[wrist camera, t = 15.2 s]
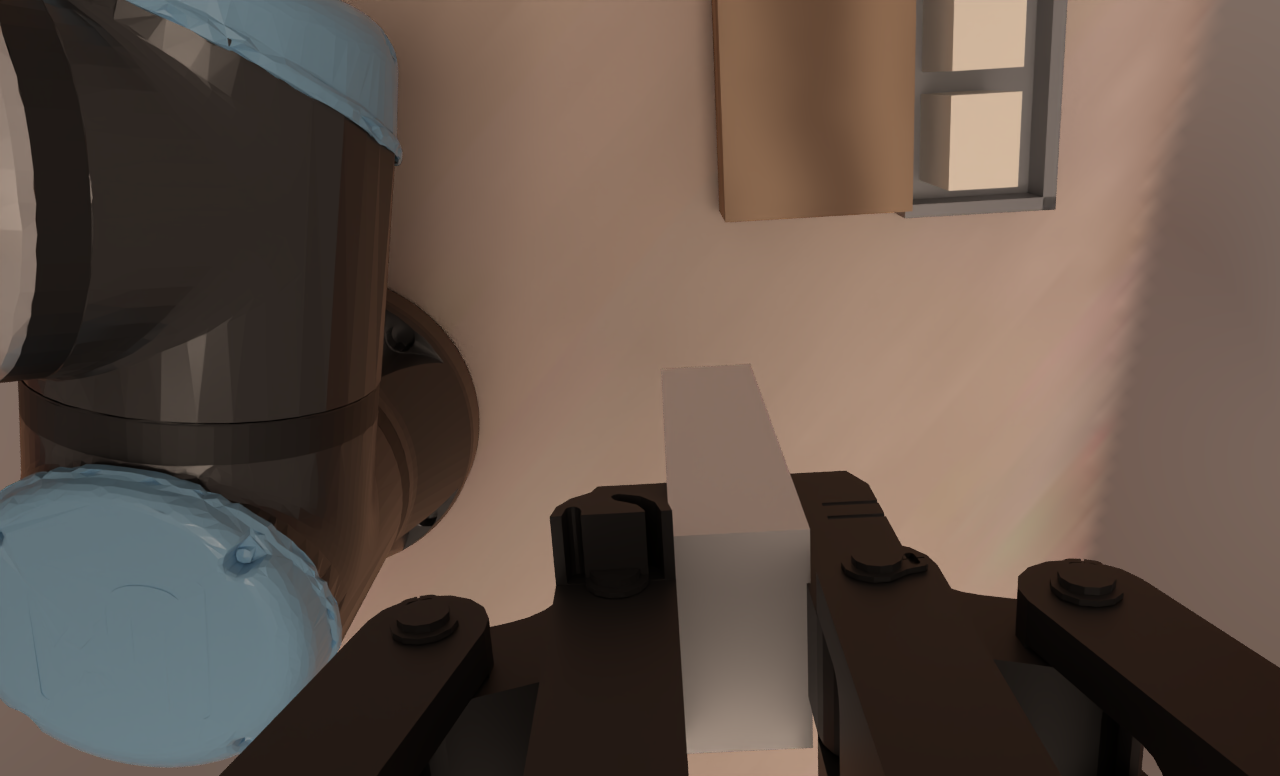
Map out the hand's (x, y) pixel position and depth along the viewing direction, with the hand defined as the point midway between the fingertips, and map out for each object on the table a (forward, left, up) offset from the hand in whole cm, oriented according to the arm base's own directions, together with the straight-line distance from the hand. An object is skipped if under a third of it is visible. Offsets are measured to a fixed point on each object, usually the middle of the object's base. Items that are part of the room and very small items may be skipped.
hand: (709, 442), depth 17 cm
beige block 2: (+12, +3, -31) cm, 34 cm away
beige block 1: (+12, +8, -31) cm, 34 cm away
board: (+7, +5, -34) cm, 35 cm away
